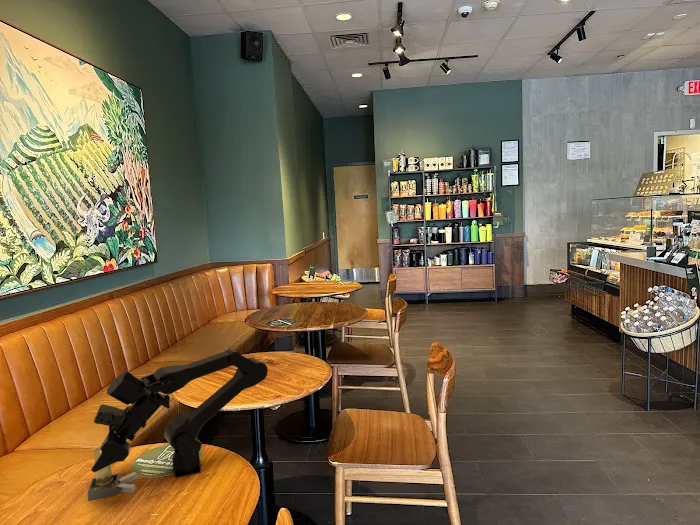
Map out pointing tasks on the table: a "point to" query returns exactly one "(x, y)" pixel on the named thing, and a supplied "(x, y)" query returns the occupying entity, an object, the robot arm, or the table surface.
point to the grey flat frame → (113, 487)
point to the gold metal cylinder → (103, 473)
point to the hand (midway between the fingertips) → (95, 461)
